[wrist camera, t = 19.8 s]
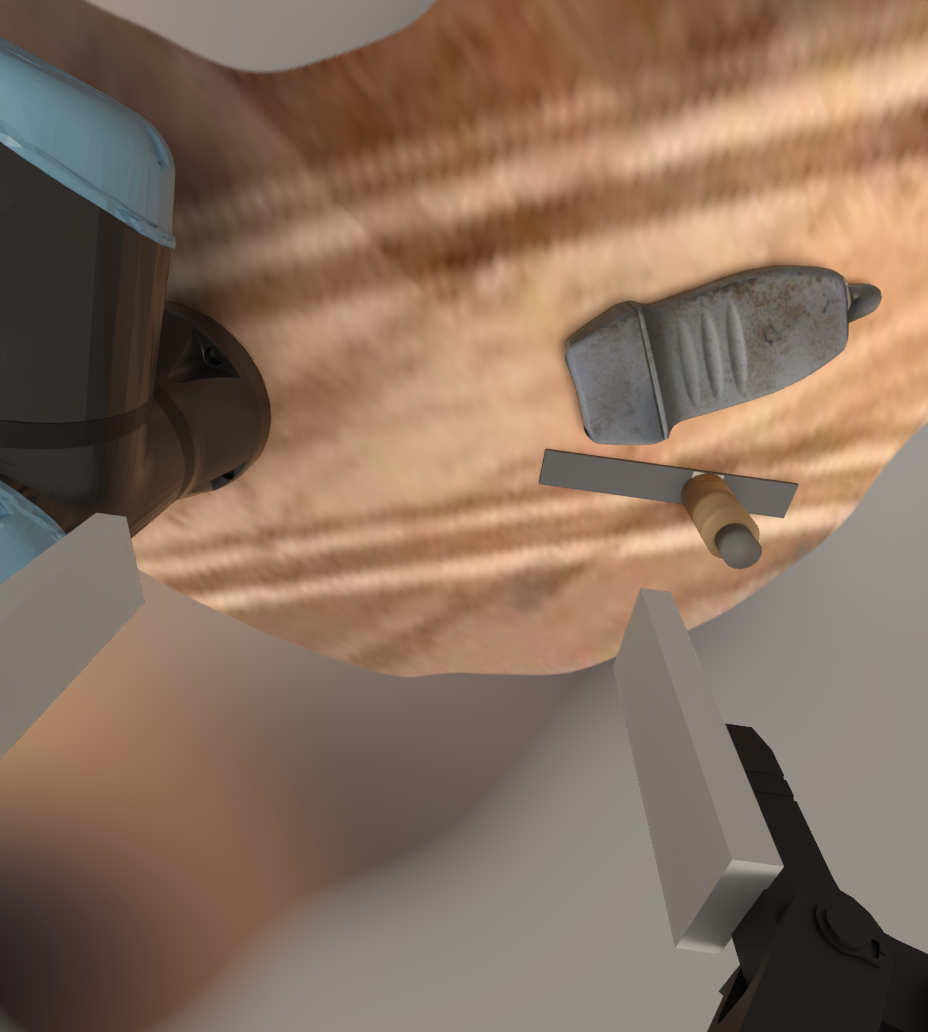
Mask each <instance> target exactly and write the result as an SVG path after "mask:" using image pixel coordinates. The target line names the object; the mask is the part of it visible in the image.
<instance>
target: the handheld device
mask: <svg viewBox="0 0 928 1032" xmlns="http://www.w3.org/2000/svg"><path fill="white" fill-rule="evenodd" d="M881 298H882V297H881V291H880V290H879V289H878V288H877V287H875V286H873V285H870V284H854V285H848V283H847V281H846V280H845V278H844V277H843V276H842V275H841V274H839V273H838V272H836V271H833V270H831V269H827V268H820V267H808V266H774V267H765V268H759V269H754V270H750V271H746V272H742V273H738V274H735V275H732V276H729V277H726V278H723V279H721V280H718V281H715V282H712V283H709V284H707V285H704V286H701V287H699V288H696V289H693V290H691V291H688V292H685V293H682V294H679V295H676V296H674V297H671V298H668V299H665V300H663V301H660V302H657V303H654V304H650V305H643V304H639V303H637V302H633V301H627V302H623V303H620V304H617V305H615V306H613V307H612V308H610V309H608V310H607V311H605V312H604V313H602V314H601V315H600V316H598V317H597V318H595V319H594V320H592V321H591V322H590V323H588V324H587V325H585V326H584V327H583V328H581V329H580V330H579V331H577V332H576V333H575V334H573V335H572V336H571V337H570V338H569V339H568V340H567V342H566V345H565V360H566V364H567V366H568V369H569V371H570V374H571V376H572V379H573V382H574V385H575V388H576V391H577V396H578V402H579V407H580V411H581V415H582V419H583V425H584V430H585V433H586V434H587V436H588V437H589V438H590V439H591V440H592V441H593V442H595V443H598V444H611V445H650V444H656V443H659V442H661V441H663V440H665V439H668V438H669V435H670V432H671V429H672V428H673V426H674V425H676V424H677V423H679V422H681V421H684V420H687V419H690V418H694V417H697V416H701V415H704V414H707V413H711V412H714V411H718V410H721V409H725V408H728V407H731V406H734V405H738V404H741V403H744V402H748V401H751V400H754V399H757V398H760V397H763V396H766V395H769V394H772V393H774V392H776V391H779V390H781V389H783V388H785V387H788V386H790V385H792V384H794V383H796V382H798V381H800V380H802V379H804V378H805V377H807V376H809V375H811V374H812V373H814V372H815V371H817V370H818V369H820V368H821V367H823V366H824V365H825V364H827V363H828V362H829V361H831V360H832V359H834V358H835V357H836V356H837V355H839V354H840V353H841V352H842V351H843V350H844V348H845V346H846V344H847V341H848V323H850V322H852V321H855V320H857V319H859V318H862V317H864V316H866V315H868V314H870V313H872V312H873V311H875V310H876V309H877V307H878V306H879V304H880V301H881Z"/></svg>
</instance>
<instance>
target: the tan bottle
mask: <svg viewBox="0 0 928 1032" xmlns="http://www.w3.org/2000/svg"><path fill="white" fill-rule="evenodd" d="M681 499H682V502H683V504H684V506H685V508H686V510H687V511H688V513H689V515H690V517H691V519H692V521H693V522H694V524H695V526H696V528H697V530H698V532H699V533H700V535H701V537H702V539H703V541H704V543H705V544H706V546H707V548H708V550H709V551H710V552H711V553H712V554H713V555H714V556H716V557H718V558H722V559H724V561H725V563H726V564H727V565H728V566H730V567H732V568H736V569H743V568H747V567H750V566H752V565H753V564H755V563H756V562H757V561H758V560H759V558H760V557H761V554H762V548H761V546H760V544H759V542H758V540H759V528H758V526H757V525H756V523H755V522H754V521H753V519H752V518H751V517H750V515H749V514H748V512H747V511H746V510H745V508H744V507H743V506H742V504H741V503H740V502H739V500H738V499H737V498H736V496H735V495H734V494H733V492H732V491H731V490H730V488H729V487H728V485H727V484H726V483H725V481H724V480H723V479H722V478H721V477H719V476H718V475H715V474H711V473H704V474H699V475H697V476H694V477H693V478H691V479H690V480H689V481H688V482H687V483H686V484H685V485H684V487H683V489H682V492H681Z"/></svg>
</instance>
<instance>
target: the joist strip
mask: <svg viewBox="0 0 928 1032" xmlns="http://www.w3.org/2000/svg"><path fill="white" fill-rule="evenodd" d="M704 473H711V474H715V475H718V476H719V477H721V478H722V479H723V480H724V481H725V483H726V484H727V485H728V487H729V488H730V490H731V491H732V492H733V494H734V495H735V496H736V498H737V499H738V500H739V502H740V503H741V504H742V506H743V507H744V508H745V510H746V511H747V512H748V513H750V514H757V515H765V516H772V517H779V518H784V516H785V514H786V512H787V510H788V507H789V505H790V503H791V501H792V499H793V496H794V494H795V492H796V490H797V488H798V484H796V483H789V482H782V481H774V480H767V479H760V478H753V477H745V476H738V475H731V474H724V473H716V472H709V471H702V470H695V469H687V468H680V467H673V466H666V465H658V464H651V463H644V462H637V461H629V460H622V459H615V458H608V457H600V456H593V455H586V454H578V453H571V452H564V451H557V450H549V449H546V450H545V455H544V460H543V465H542V470H541V475H540V480H539V484H543V485H550V486H557V487H564V488H571V489H578V490H585V491H593V492H600V493H607V494H614V495H621V496H628V497H636V498H643V499H650V500H657V501H664V502H671V503H679V504H683V502H682V499H681V492H682V489H683V487H684V485H685V484H686V483H687V482H688V481H689V480H690V479H691V478H693V477H694V476H697V475H699V474H704Z"/></svg>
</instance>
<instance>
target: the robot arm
mask: <svg viewBox="0 0 928 1032" xmlns="http://www.w3.org/2000/svg"><path fill="white" fill-rule="evenodd" d="M174 189H175V165H174V160H173V157H172V154H171V151H170V149H169V147H168V145H167V143H166V141H165V140H164V138H163V137H162V135H161V134H160V133H159V131H158V130H157V129H156V128H155V127H154V126H153V125H152V124H151V123H150V122H148V121H147V120H146V119H145V118H144V117H142V116H141V115H139V114H138V113H137V112H135V111H133V110H132V109H130V108H129V107H127V106H125V105H123V104H122V103H120V102H118V101H117V100H115V99H113V98H112V97H110V96H108V95H106V94H105V93H103V92H101V91H99V90H98V89H96V88H94V87H92V86H90V85H89V84H87V83H85V82H83V81H81V80H80V79H78V78H76V77H74V76H72V75H70V74H69V73H67V72H65V71H63V70H61V69H59V68H58V67H56V66H54V65H52V64H50V63H48V62H46V61H44V60H43V59H41V58H39V57H37V56H35V55H33V54H31V53H29V52H27V51H26V50H24V49H22V48H20V47H18V46H16V45H14V44H12V43H10V42H9V41H7V40H5V39H3V38H1V37H0V759H1V758H2V757H3V756H4V755H5V754H6V753H7V752H8V751H9V750H10V748H11V747H12V746H13V745H14V744H15V743H16V742H17V741H18V740H19V739H20V737H21V736H22V735H23V734H24V733H25V732H26V731H27V730H28V729H29V728H30V727H31V726H32V724H33V723H34V722H35V721H36V720H37V719H38V718H39V717H40V716H41V715H42V714H43V713H44V711H45V710H46V709H47V708H48V707H49V706H50V705H51V704H52V703H53V702H54V700H55V699H56V698H57V697H58V696H59V695H60V694H61V693H62V692H63V691H64V690H65V689H66V687H67V686H68V685H69V684H70V683H71V682H72V681H73V680H74V679H75V678H76V677H77V675H78V674H79V673H80V672H81V671H82V670H83V669H84V668H85V667H86V666H87V665H88V663H89V662H90V661H91V660H92V659H93V658H94V657H95V656H96V655H97V654H98V652H100V650H101V649H102V648H103V647H104V646H105V645H106V644H107V643H108V641H110V639H111V638H112V637H113V636H114V635H115V634H116V633H117V632H118V631H119V630H120V628H122V626H123V625H124V624H125V623H126V622H127V621H128V619H130V617H132V615H133V614H134V613H135V612H136V611H137V610H138V609H139V608H140V607H141V606H142V605H143V604H144V602H145V601H144V596H143V592H142V588H141V582H140V578H139V574H138V569H137V564H136V559H135V555H134V550H133V546H132V541H131V538H133V537H134V536H135V535H136V534H137V533H138V532H140V531H141V530H142V529H143V528H144V527H146V526H147V525H148V524H149V523H150V522H151V521H153V520H154V519H155V518H156V517H157V516H158V515H160V514H161V513H162V512H163V511H164V510H165V509H167V508H168V507H169V506H170V505H171V504H172V503H174V502H175V501H176V500H180V499H183V498H187V497H191V496H195V495H199V494H203V493H206V492H210V491H214V490H217V489H219V488H222V487H224V486H226V485H228V484H229V483H231V482H233V481H234V480H236V479H237V478H238V477H239V476H241V475H242V474H243V473H244V472H245V471H246V470H247V469H248V468H249V467H250V466H251V465H252V464H253V463H254V462H255V461H256V460H257V458H258V457H259V455H260V454H261V452H262V450H263V448H264V446H265V444H266V441H267V438H268V433H269V427H270V408H269V401H268V396H267V392H266V389H265V386H264V383H263V381H262V378H261V376H260V374H259V372H258V370H257V368H256V366H255V364H254V363H253V361H252V360H251V358H250V356H249V355H248V354H247V352H246V351H245V350H244V348H243V347H242V346H241V345H240V344H239V343H238V342H237V340H236V339H235V338H234V337H233V336H232V335H231V334H229V333H228V332H227V331H226V330H225V329H224V328H223V327H221V326H220V325H219V324H217V323H216V322H214V321H213V320H211V319H210V318H208V317H207V316H205V315H203V314H201V313H199V312H197V311H195V310H193V309H190V308H188V307H185V306H182V305H179V304H175V303H171V302H165V295H166V288H167V280H168V272H169V264H170V256H171V249H175V246H176V238H175V236H174V235H173V234H172V223H173V205H174ZM613 668H614V672H615V677H616V682H617V686H618V691H619V695H620V700H621V704H622V708H623V713H624V717H625V722H626V727H627V731H628V736H629V740H630V745H631V750H632V754H633V759H634V763H635V768H636V772H637V777H638V781H639V785H640V790H641V795H642V799H643V804H644V808H645V813H646V817H647V822H648V826H649V831H650V835H651V840H652V844H653V849H654V853H655V858H656V863H657V867H658V872H659V876H660V881H661V885H662V890H663V894H664V898H665V903H666V908H667V912H668V917H669V921H670V926H671V930H672V935H673V939H674V944H675V948H680V949H687V950H694V951H701V952H708V953H715V954H720V953H721V952H722V950H723V949H724V947H725V946H726V945H727V943H728V942H729V941H730V939H731V938H732V939H733V942H734V946H735V949H736V952H737V956H738V959H739V962H740V965H739V966H738V968H737V969H736V970H735V971H734V973H733V974H732V975H731V977H730V978H729V979H728V981H727V982H726V983H725V984H724V985H723V987H722V988H721V989H720V990H719V992H720V993H721V994H722V995H723V998H722V1000H721V1003H720V1005H719V1007H718V1009H717V1012H716V1014H715V1016H714V1018H713V1020H712V1023H711V1025H710V1027H709V1029H708V1031H707V1032H928V954H926V953H924V952H922V951H920V950H918V949H916V948H913V947H911V946H909V945H907V944H905V943H902V942H900V941H898V940H896V939H894V938H893V937H891V936H889V935H887V934H885V933H884V932H883V930H882V929H881V928H880V926H879V925H878V924H877V922H876V921H875V920H874V918H873V917H872V915H871V914H870V913H869V912H868V911H867V910H866V909H865V908H864V907H862V906H861V905H860V904H859V903H858V902H857V901H856V900H855V899H854V898H852V897H851V896H849V895H847V894H845V893H844V892H842V891H840V889H839V888H838V886H837V884H836V882H835V881H834V879H833V877H832V875H831V873H830V871H829V869H828V866H827V864H826V862H825V860H824V858H823V856H822V854H821V852H820V850H819V848H818V846H817V843H816V841H815V839H814V837H813V835H812V833H811V831H810V829H809V827H808V825H807V823H806V820H805V818H804V816H803V814H802V812H801V810H800V808H799V806H798V804H797V802H796V801H794V799H793V797H794V795H793V793H792V791H791V789H790V787H789V785H788V783H787V781H786V780H784V778H783V776H784V775H783V773H782V770H781V768H780V766H779V764H778V762H777V760H776V758H775V756H774V754H773V752H772V750H771V749H770V748H769V746H768V745H767V744H766V743H765V742H764V741H763V740H762V738H761V737H760V736H759V735H758V734H757V733H756V732H755V731H754V729H753V728H752V727H746V726H739V725H732V724H725V723H724V720H723V718H722V715H721V713H720V710H719V708H718V705H717V703H716V701H715V698H714V696H713V694H712V691H711V689H710V686H709V684H708V681H707V679H706V676H705V674H704V672H703V669H702V667H701V664H700V662H699V659H698V657H697V655H696V652H695V650H694V647H693V645H692V643H691V640H690V638H689V635H688V633H687V630H686V628H685V625H684V623H683V621H682V618H681V616H680V613H679V611H678V608H677V606H676V604H675V601H674V599H673V596H672V594H671V592H666V591H659V590H651V589H644V588H640V591H639V594H638V597H637V600H636V603H635V606H634V609H633V612H632V615H631V617H630V620H629V623H628V626H627V629H626V632H625V635H624V638H623V641H622V644H621V647H620V649H619V652H618V655H617V658H616V661H615V664H614V667H613Z"/></svg>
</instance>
